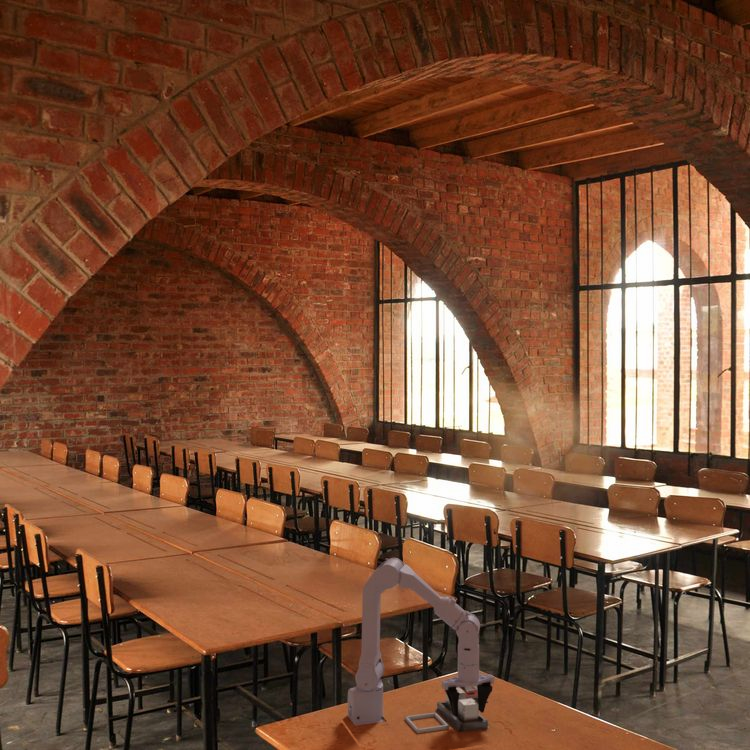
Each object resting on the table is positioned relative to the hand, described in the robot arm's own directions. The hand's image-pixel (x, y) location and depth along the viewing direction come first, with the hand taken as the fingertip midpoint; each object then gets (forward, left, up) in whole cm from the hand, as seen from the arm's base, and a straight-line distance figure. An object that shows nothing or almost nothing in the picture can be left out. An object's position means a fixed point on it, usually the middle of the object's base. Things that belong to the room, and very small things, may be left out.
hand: (468, 712), depth 222 cm
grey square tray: (-10, +3, -4) cm, 12 cm away
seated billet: (0, +8, -3) cm, 9 cm away
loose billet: (0, 0, -3) cm, 3 cm away
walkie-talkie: (+10, +21, -5) cm, 24 cm away
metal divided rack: (0, +4, -4) cm, 6 cm away
